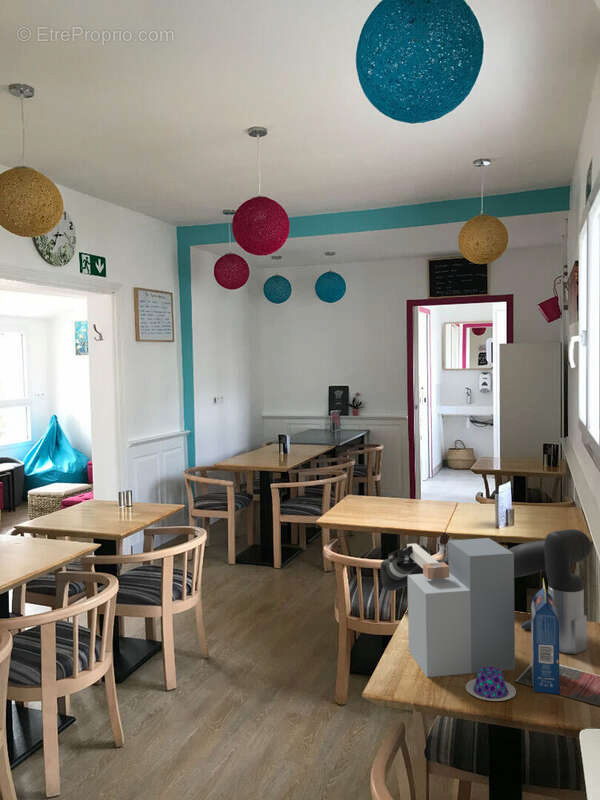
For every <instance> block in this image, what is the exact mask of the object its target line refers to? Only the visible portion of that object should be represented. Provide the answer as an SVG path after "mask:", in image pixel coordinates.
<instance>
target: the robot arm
mask: <svg viewBox="0 0 600 800" xmlns="http://www.w3.org/2000/svg"><path fill="white" fill-rule="evenodd" d="M419 546H420V547H421V548H422V549H423V550H425V551H426V552H427V553H428V554H429V555H430V556H431V553H430V549H429V548H428V547H426V546H425V545H424V544H421V545H419ZM508 550H509V551H511V552H513V553H514V579H515V578H519V577H520V578H521V577H526V576H528V575H533V574H536V573H539V572H541V571H544V570H545V575H546V578H547V583H548V584H547V586H548V587H547V588H548V591H547V592H548V593H549V594H550V595H551V597H552V598H553V600H554V603H555V607H556V610H557V614H558V622H559V653H563V654H573V655H578V654H580V653H582V652H583V651H585V650H587V649H588V616H587V615H586V614H584V612H585V611H584V599H585V598H584V579H583V578H582V576H580V575H578V574H575V573H573V572H571V565H570V564H575V563H580V562H582V561H584V560H586V559H587V558H588V557H589V555H590V553H591V551H592V542H591V540H590V538H589V536H588V535H587V534H586V533H584V532H583V531H581V530H578V529H573V528H570V529H563V530H562V529H561V530H555V531H551V532H549V533H548V534H547V535H546V537H545V539H544V540H535V541H529V542H524V543H521V544H517V545H515V546H512V547H510V548H508ZM412 553H413V548H412V546H409V547H408V548H407V547H401V548H399V549H396V550H394V551H392V552H390V553H388V556H387V557H388V558H386V559H383V560H382V561H381V564H380V576H381V584H382V587H383V589H385V590H386V591H390V592H395V591H398V590H400V589H402V588H405V587H408V575H412V574H423V568H421V567H420V566H419V565H418V564H417V563H416V562H415V561H414V560H413V559H412V558H411V557H410V555H411V554H412ZM435 560H436V561H437V562H439V563H441V562H444V563H446V564H447V565H448V566H449V560H448V557H446V558H440V559H435Z"/></svg>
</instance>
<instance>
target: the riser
mask: <svg viewBox="0 0 600 800" xmlns="http://www.w3.org/2000/svg"><path fill="white" fill-rule="evenodd" d="M447 544H448V545H447V547H448V549H447V550H448V555H447V556H448V557H447V558H448V560H449V578H437V579H427V578H426V577H425V576H424V575H423V574H412V575H408V586H407V617H408V619H407V620H408V621H407V622H408V652H409V654H410V655H411V657H412V658H413V660H414V661H415V663H416V664H417V665H418V666H419V668H420V670H421V671H422V673H424V675H425V677H426V678H433V677H436V678H437V677H446V676H457V675H466V674H478V671H479V670H480V668H482V667H495V668H497V669H499V670H501V671H512V670H516V640H515V639H516V636H515V633H516V631H515V624H516V623H515V618H516V617H515V578H514V553H513V552H511V551H509V548H506V547H504V546H502V545H501V544H499V543H498V542H497V541H494V540H493V539H491V538H490V537H484V538H483V537H482V538H470V539H469V538H468V539H453V540H448V541H447Z"/></svg>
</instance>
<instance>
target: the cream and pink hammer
mask: <svg viewBox="0 0 600 800" xmlns="http://www.w3.org/2000/svg"><path fill="white" fill-rule="evenodd" d="M409 546H412V548H413V553H412V554H411V555H410V557H411V558H412V559H413V560H414V561H415V562H416V563H417V564H418V565H419V566H420V567H421V568H423V575H424V576H425V577H426V578H427V579H437V578H449V566H448V565H447V564H446V563H444V562H441V563H439V562H437V561H436V560H437V559H435V558H434V557H433V556H432V555H431V554H430V555H429V554H428V553H427V552H426V551H425V550H423V549H422V548H421V547H420V546H421V545H419V544H418V543H407V544H406V548H408V547H409Z"/></svg>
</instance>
